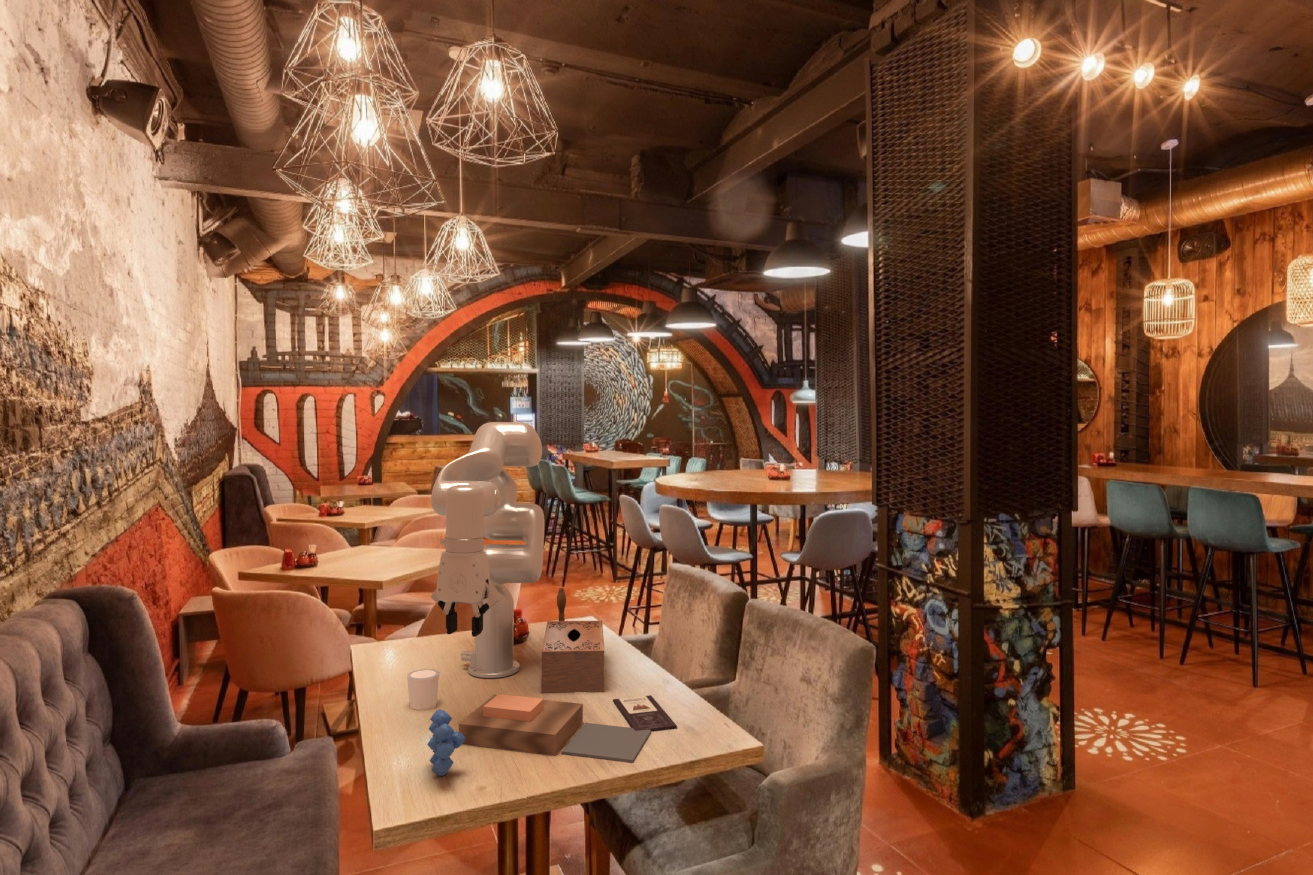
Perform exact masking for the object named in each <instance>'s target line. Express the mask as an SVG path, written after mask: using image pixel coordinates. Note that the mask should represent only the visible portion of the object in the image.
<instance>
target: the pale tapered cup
mask: <svg viewBox="0 0 1313 875" xmlns="http://www.w3.org/2000/svg"><path fill="white" fill-rule="evenodd" d="M406 677H407V689H408V700H409V707H410V708H411V709H412V710H415V711H425V710H426V711H427V710H430V709H433V708H435V707H436V706H437V700H438V692H439V680H440V671H438V670H436V669H434V668H433V669H430V668H429V669H428V668H427V669H425V668H424V669H423V668H421V669H416V670H413V671H411V672H409V673H407V676H406Z"/></svg>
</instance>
